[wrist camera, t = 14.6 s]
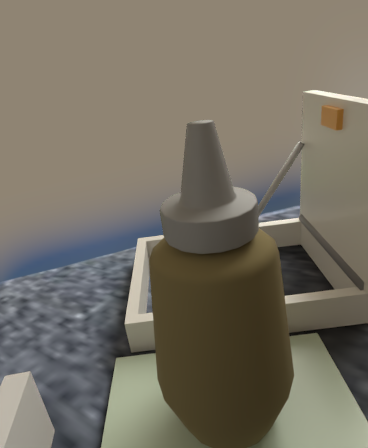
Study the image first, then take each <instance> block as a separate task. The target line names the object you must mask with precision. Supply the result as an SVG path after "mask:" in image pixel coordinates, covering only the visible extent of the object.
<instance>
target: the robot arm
mask: <svg viewBox="0 0 368 448" xmlns="http://www.w3.org/2000/svg"><path fill="white" fill-rule="evenodd" d="M54 431H55V430H54V428H53V425H52V423H51V420H50V418H49V415H48V413H47V411H46V408H45V406H44V403H43V401H42V398H41V396H40V394H39V391H38V389H37V386H36V384H35V381H34V379H33V377H32V374H31V372H24V373H19V374H13V375H8V376H5V377H4V379H3V382H2V384H1V386H0V448H51V445H52V440H53V436H54Z"/></svg>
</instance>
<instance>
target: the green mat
mask: <svg viewBox="0 0 368 448" xmlns="http://www.w3.org/2000/svg"><path fill="white" fill-rule="evenodd" d="M290 344H291V352H292V360H293V369H294V379H293V382H292V386H291V390H290V394H289V398H288V400H287V402H286V403H285V405H284V407H283V408H282V410H281V412H280V414H279V415H278V417H277V419H276V421H275V422H274V424H273V426H272V427H271V429H270V430H269V432H268V433H267V434H266V435H265V436H264V437H263V438H262V439H261V440H260V442H259V443H257V444H255V445H253V446H250V447H248V448H368V422H367V420H366V418H365V416H364V415H363V413H362V411H361V409H360V407H359V406H358V404H357V402H356V400H355V399H354V397H353V395H352V393H351V392H350V390H349V388H348V386H347V384H346V383H345V381H344V379H343V377H342V376H341V374H340V372H339V370H338V369H337V367H336V365H335V363H334V361H333V360H332V358H331V356H330V354H329V353H328V351H327V349H326V347H325V346H324V344H323V342H322V340H321V339H320V337H319V335H318V333H312V334H304V335H296V336H290ZM101 448H211V447H209V446H206V445H204V444H202V443H201V442H200V441H199V440H198V439H197V438H196V437H195V436H194V435H193V434H192V433H191V432H190V431H189V430H188V429H187V428H186V427H185V425H184V424H183V423H182V422H181V420H180V419H179V418H178V417H177V415H176V414H175V413H174V412H173V410H172V409H171V408H170V407H169V405H168V404H167V403H166V402H165V400H164V397H163V394H162V391H161V388H160V385H159V382H158V379H157V365H156V353H152V354H144V355H136V356H128V357H120V358H116V362H115V368H114V374H113V380H112V386H111V391H110V397H109V403H108V409H107V415H106V421H105V427H104V433H103V438H102V444H101Z"/></svg>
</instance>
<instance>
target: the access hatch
mask: <svg viewBox="0 0 368 448" xmlns="http://www.w3.org/2000/svg"><path fill="white" fill-rule="evenodd" d="M301 149H302V151H301ZM300 151H301V196H300V197H301V198H300V216H299V218H295V219H287V220H279V221H271V222H263V223H259V229H261V230H262V231H264V232H265V233H267V234H268V235H269V236H271V237H272V238H273V239H275V242H276V245H277V247H284V246H292V245H300V244H301V245H302V247H303V248H304V249H305V251H306V252H307V253H308V255H309V256H310V257H311V259H312V260H313V261H314V263H315V264H316V265H317V267H318V268H319V269H320V271H321V272H322V273H323V275H324V276H325V277H326V279H327V280H328V281H329V283H330V284H331V285H332V287H333V288H334V289H335V290H327V291H320V292H312V293H304V294H296V295H288V296H285V304H286V312H287V320H288V328H289V333H292V332H300V331H308V330H316V329H324V328H332V327H340V326H348V325H356V324H364V323H368V99H365V98H359V97H353V96H347V95H340V94H335V93H329V92H323V91H317V90H312V91H304V92H303V108H302V143H301V142H298V143H297V145H296V146H295V148H294V150H293V151H292V153H291V155H290V156H289V158H288V159H287V161H286V162H285V164H284V166H283V167H282V169H281V171H280V172H279V173H278V175H277V177H276V178H275V180H274V181H273V183H272V185H271V187H270V188H269V189H268V191H267V193H266V194H265V196H264V197H263V199H262V201H261V202H260V204H259V205H258V217H259V215H260V214H261V212H262V211H263V209H264V208H265V206H266V204H267V203H268V201H269V199H270V198H271V196H272V195H273V193H274V192H275V190H276V189H277V187H278V186H279V184H280V182H281V181H282V179H283V178H284V176H285V175H286V173H287V171H288V170H289V168H290V167H291V165H292V164H293V162H294V160H295V159H296V157H297V156H298V154H299V153H300ZM163 238H164V235H161V236H153V237H145V238H139V239H138V243H137V249H136V255H135V261H134V267H133V274H132V280H131V286H130V292H129V299H128V305H127V311H126V317H125V323H124V325H125V329H126V333H127V337H128V341H129V345H130V350H131V353H133V352H141V351H149V350H155V337H154V323H153V313H146V311H147V298H148V285H149V273H150V267H149V259H150V256H151V253H152V249H153V248H154V247H155V246H156V245H157V244H158V243H159V242H160V241H161V240H162V239H163Z"/></svg>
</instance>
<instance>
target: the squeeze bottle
mask: <svg viewBox="0 0 368 448" xmlns="http://www.w3.org/2000/svg"><path fill="white" fill-rule="evenodd" d="M160 216H161V221H162V228H163V234H164V238H163V239H162V240H161V241H160V242H159V243H158V244H157V245H156V246H155V247H154V248H153V249H152V253H151V256H150V259H149V267H150V281H151V295H152V309H153V323H154V337H155V351H156V365H157V379H158V382H159V385H160V388H161V391H162V394H163V397H164V400H165V402H166V403H167V404H168V405H169V407H170V408H171V409H172V410H173V412H174V413H175V414H176V415H177V417H178V418H179V419H180V420H181V422H182V423H183V424H184V425H185V427H186V428H187V429H188V430H189V431H190V432H191V433H192V434H193V435H194V436H195V437H196V438H197V439H198V440H199V441H200V442H201V443H202V444H204V445H206V446H209V447H211V448H248V447H250V446H253V445H255V444H257V443H259V442H260V440H261V439H262V438H263V437H264V436H265V435H266V434H267V433H268V432H269V430H270V429H271V427H272V426H273V424H274V422H275V421H276V419H277V417H278V415H279V414H280V412H281V410H282V408H283V407H284V405H285V403H286V402H287V400H288V398H289V394H290V390H291V386H292V382H293V379H294V369H293V360H292V352H291V344H290V336H289V328H288V320H287V312H286V304H285V296H284V288H283V280H282V272H281V264H280V256H279V250H278V248H277V245H276V242H275V239H273V238H272V237H271V236H269V235H268V234H267V233H265V232H264V231H262V230H261V229H259V222H258V202H257V199H256V196H255V195H254V194H253V193H251V192H249V191H248V190H246V189H242V188H237V187H233V185H232V182H231V179H230V175H229V172H228V169H227V165H226V162H225V158H224V155H223V152H222V148H221V145H220V141H219V138H218V134H217V131H216V128H215V124H214V121H212V120H202V121H195V122H190V123H188V124H187V129H186V141H185V152H184V163H183V175H182V185H181V192H180V193H177V194H175V195H172V196H171V197H169V198H168V199H167V200H165V201H164V202H163V203H162V206H161V209H160Z"/></svg>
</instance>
